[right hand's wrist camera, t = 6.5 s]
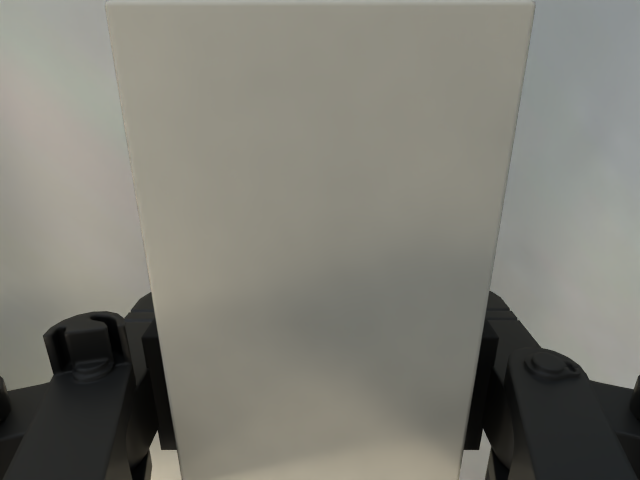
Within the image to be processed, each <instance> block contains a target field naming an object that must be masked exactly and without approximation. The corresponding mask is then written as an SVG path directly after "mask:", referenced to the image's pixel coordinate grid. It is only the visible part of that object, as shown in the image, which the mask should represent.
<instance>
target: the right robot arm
mask: <svg viewBox="0 0 640 480" xmlns="http://www.w3.org/2000/svg"><path fill="white" fill-rule="evenodd" d="M43 338H44V342H45V345H46V349H47V352H48V356H49V360H50V363H51V367H52V370H53V374H54V375H53V377H52V379H51V381H50V382H49V383H45V384H41V385H36V386H31V387H26V388H21V389H16V390H11V391H7V389H6V386H5V383H4V380H3V378H2V377H1V376H0V480H150V479H151V471H152V463H151V456H150V451H149V447H150V445H151V443H152V441H153V438H154V436H155V434H156V432H157V430H158V434H159V440H160V445H161V450H177V447H176V441H175V434H174V428H173V422H172V416H171V410H170V404H169V398H168V391H167V385H166V379H165V373H164V367H163V361H162V354H161V348H160V342H159V336H158V330H157V324H156V318H155V311H154V305H153V299H152V293H151V292H150V293H149V294H147V295H145V296H144V297H142V298H141V299H139V301H138V302H137V303H136V304H135V306H134V307H133V308H132V309H131V312H129V313H128V314H127V316H126V317H125V318H123V317H121V316H120V315H119V314H117V313H112V312H108V311H102V312H89V313H84V314H80V315H76V316H73V317H71V318H68V319H65V320H63V321H61V322H59V323H58V324H56V325H54V326H53V327H51V328H50V329H49V330H48V331H47V332H46V333H45V334H44V335H43ZM483 429H484V431H485V433H486V435H487V438H488V440H489V442H490V444H491V451H490V456H489V461H488V466H487V471H486V477H485V480H640V375H639V376H638V379H637V382H636V385H635V388H634V389H629V388H624V387H619V386H614V385H609V384H604V383H599V382H595V381H591V380H589V378H588V376H587V374H586V373H585V372H584V370H583V369H582V368H581V367H580V365H578V364H577V363H576V362H574V361H573V360H571V359H570V358H568V357H566V356H564V355H562V354H560V353H557V352H555V351H552V350H548V349H543V348H541V347H540V346H539V344H538V343H537V342H536V341H535V339H534V338H533V337H532V336H531V334H530V333H529V332H528V331H527V330H526V328H525V327H524V326H523V325H522V323H521V322H520V321H519V320H517V317H516V316H515V315H514V313H513V312H512V311H510V308H509V307H508V306H507V305H506V303H505V302H504V301H503V300H502V299H501V297H499V296H497V295H496V294H494V293H493V292H491V291H489V296H488V302H487V308H486V314H485V320H484V326H483V332H482V339H481V345H480V351H479V357H478V363H477V369H476V376H475V382H474V388H473V394H472V400H471V406H470V413H469V419H468V425H467V431H466V437H465V443H464V449H463V450H479V447H480V442H481V436H482V431H483Z"/></svg>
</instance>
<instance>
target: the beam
mask: <svg viewBox="0 0 640 480" xmlns="http://www.w3.org/2000/svg"><path fill="white" fill-rule="evenodd" d="M105 10H106V16H107V22H108V28H109V35H110V41H111V47H112V53H113V59H114V65H115V71H116V78H117V84H118V90H119V96H120V102H121V108H122V115H123V121H124V127H125V133H126V139H127V145H128V151H129V158H130V164H131V170H132V176H133V182H134V188H135V195H136V201H137V207H138V213H139V219H140V225H141V231H142V238H143V244H144V250H145V256H146V262H147V268H148V274H149V281H150V287H151V293H152V299H153V305H154V311H155V318H156V324H157V330H158V336H159V342H160V348H161V354H162V361H163V367H164V373H165V379H166V385H167V391H168V398H169V404H170V410H171V416H172V422H173V428H174V434H175V441H176V447H177V453H178V459H179V465H180V471H181V478H182V480H459V474H460V468H461V462H462V456H463V449H464V443H465V437H466V431H467V425H468V419H469V413H470V406H471V400H472V394H473V388H474V382H475V376H476V369H477V363H478V357H479V351H480V345H481V339H482V332H483V326H484V320H485V314H486V308H487V302H488V296H489V289H490V283H491V277H492V271H493V265H494V259H495V252H496V246H497V240H498V234H499V228H500V222H501V215H502V209H503V203H504V197H505V191H506V185H507V178H508V172H509V166H510V160H511V154H512V148H513V142H514V135H515V129H516V123H517V117H518V111H519V105H520V98H521V92H522V86H523V80H524V74H525V68H526V61H527V55H528V49H529V43H530V37H531V31H532V25H533V18H534V12H535V2H534V1H532V0H108V1H106V3H105Z"/></svg>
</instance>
